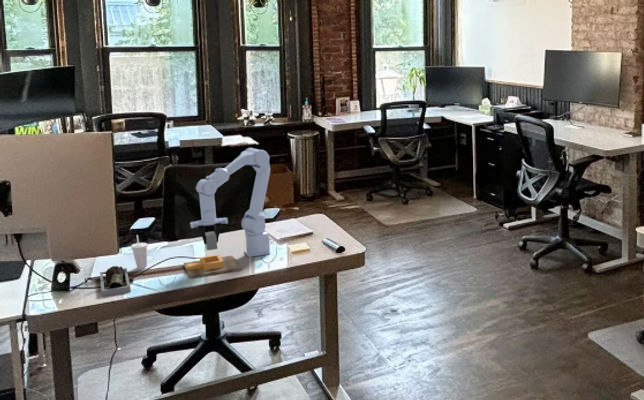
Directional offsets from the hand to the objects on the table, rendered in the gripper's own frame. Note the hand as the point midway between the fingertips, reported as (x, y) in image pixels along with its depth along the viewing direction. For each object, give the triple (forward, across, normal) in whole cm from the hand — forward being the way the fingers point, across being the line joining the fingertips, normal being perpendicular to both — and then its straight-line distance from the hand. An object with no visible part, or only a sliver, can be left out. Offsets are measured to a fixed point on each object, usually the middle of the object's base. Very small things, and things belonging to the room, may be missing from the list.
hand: (211, 242), depth 254 cm
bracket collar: (+9, +4, +3) cm, 10 cm away
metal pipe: (+10, +38, +4) cm, 39 cm away
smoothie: (+10, +27, -10) cm, 30 cm away
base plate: (+10, +1, +3) cm, 10 cm away
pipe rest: (+10, +38, +4) cm, 39 cm away
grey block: (+2, 0, 0) cm, 2 cm away
